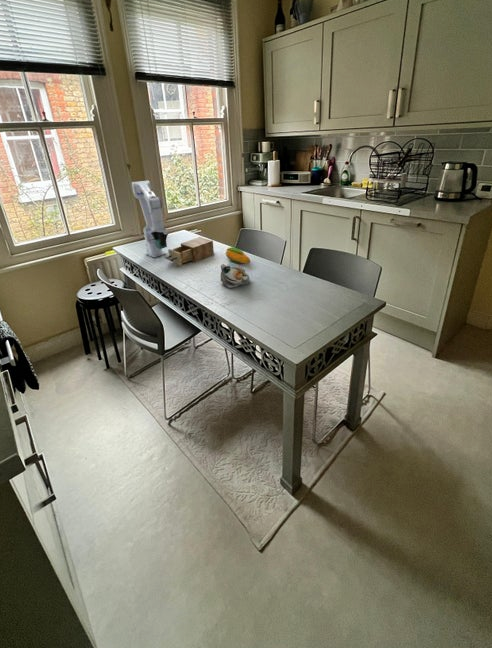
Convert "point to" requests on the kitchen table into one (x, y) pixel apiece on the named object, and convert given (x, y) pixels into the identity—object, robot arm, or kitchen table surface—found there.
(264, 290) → the kitchen table surface
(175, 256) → the drawer
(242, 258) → the corn
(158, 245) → the block
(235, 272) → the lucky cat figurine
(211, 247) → the cabinet
